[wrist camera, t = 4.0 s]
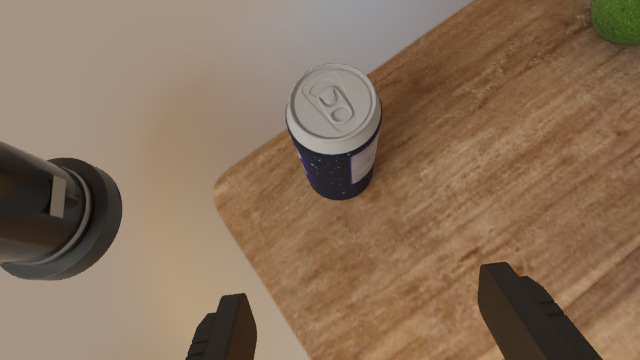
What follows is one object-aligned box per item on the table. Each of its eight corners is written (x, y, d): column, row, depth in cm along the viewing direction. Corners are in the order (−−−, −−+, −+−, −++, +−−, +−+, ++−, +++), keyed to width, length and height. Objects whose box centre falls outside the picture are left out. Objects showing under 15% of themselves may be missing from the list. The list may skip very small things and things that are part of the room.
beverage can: (350, 131, 31) (349, 40, 20) (384, 182, 30) (404, 114, 18) (296, 162, 31) (264, 87, 20) (328, 215, 29) (312, 166, 18)
